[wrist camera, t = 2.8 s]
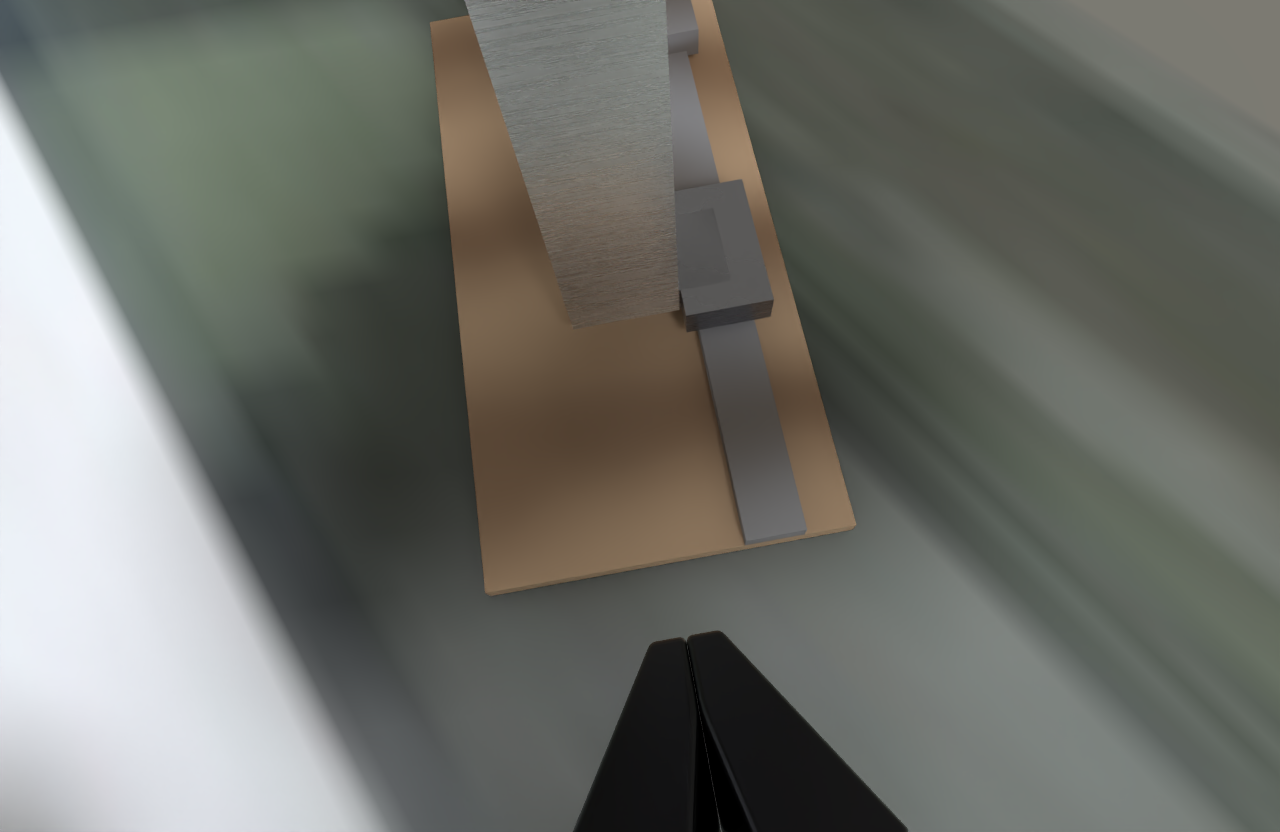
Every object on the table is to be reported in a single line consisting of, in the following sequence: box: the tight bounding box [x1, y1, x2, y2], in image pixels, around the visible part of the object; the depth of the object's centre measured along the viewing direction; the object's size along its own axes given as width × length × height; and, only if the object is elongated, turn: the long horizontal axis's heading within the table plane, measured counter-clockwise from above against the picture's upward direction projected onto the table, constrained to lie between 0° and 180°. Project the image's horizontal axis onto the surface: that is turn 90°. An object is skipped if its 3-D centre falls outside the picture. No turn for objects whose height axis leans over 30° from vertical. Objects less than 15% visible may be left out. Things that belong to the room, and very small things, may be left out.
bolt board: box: [430, 0, 856, 596], centre depth 17 cm, size 20×10×16 cm, turn 10°
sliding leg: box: [465, 0, 774, 332], centre depth 15 cm, size 4×6×18 cm
